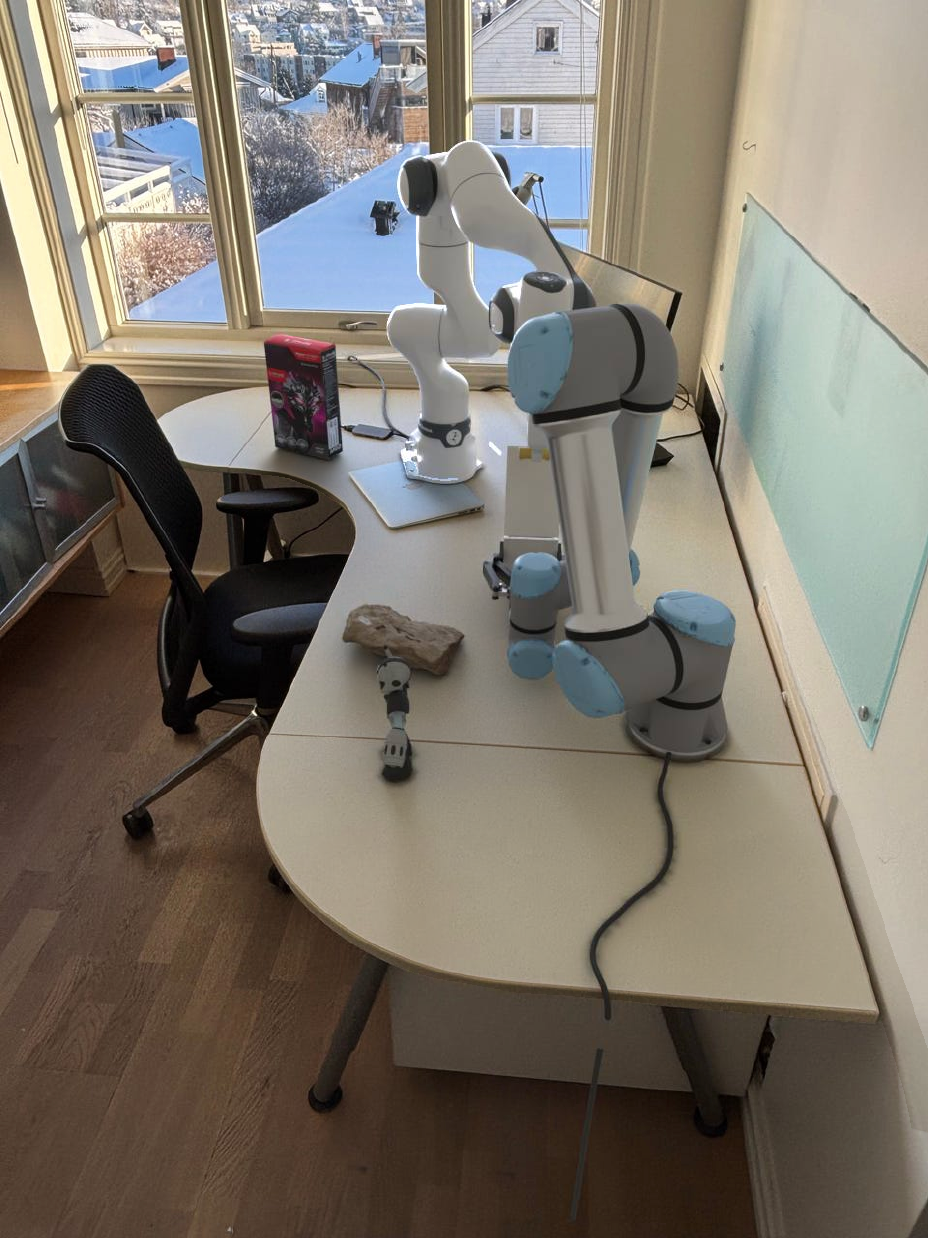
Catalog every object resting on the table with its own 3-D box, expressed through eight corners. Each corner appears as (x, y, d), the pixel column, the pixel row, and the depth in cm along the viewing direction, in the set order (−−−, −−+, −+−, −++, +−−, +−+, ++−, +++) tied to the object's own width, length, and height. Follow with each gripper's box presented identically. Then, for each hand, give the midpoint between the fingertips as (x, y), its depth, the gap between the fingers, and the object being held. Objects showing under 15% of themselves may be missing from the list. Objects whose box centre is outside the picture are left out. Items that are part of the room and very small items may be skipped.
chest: (503, 546, 191) (505, 500, 185) (552, 548, 191) (556, 502, 185) (502, 586, 178) (503, 538, 172) (554, 588, 178) (558, 540, 172)
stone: (319, 650, 154) (325, 617, 152) (352, 620, 168) (359, 590, 165) (435, 691, 151) (444, 659, 148) (460, 657, 164) (468, 628, 162)
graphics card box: (273, 448, 231) (260, 339, 216) (289, 438, 236) (278, 332, 221) (329, 461, 225) (320, 351, 210) (345, 451, 230) (337, 342, 215)
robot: (414, 810, 128) (411, 698, 117) (379, 811, 128) (372, 699, 117) (414, 719, 145) (410, 613, 133) (382, 720, 144) (377, 613, 133)
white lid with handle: (507, 446, 172) (507, 439, 163) (562, 448, 171) (565, 441, 163) (503, 535, 172) (503, 532, 164) (558, 537, 172) (561, 534, 163)
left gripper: (561, 397, 145) (555, 478, 153) (557, 358, 163) (552, 432, 170) (521, 396, 146) (517, 477, 153) (521, 357, 163) (518, 431, 170)
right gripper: (599, 595, 156) (591, 532, 174) (464, 591, 157) (471, 529, 175) (595, 632, 160) (588, 567, 178) (464, 627, 161) (470, 563, 179)
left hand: (536, 453), depth 162 cm, fingers open, 5 cm apart
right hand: (530, 548), depth 177 cm, fingers closed on chest, 10 cm apart
